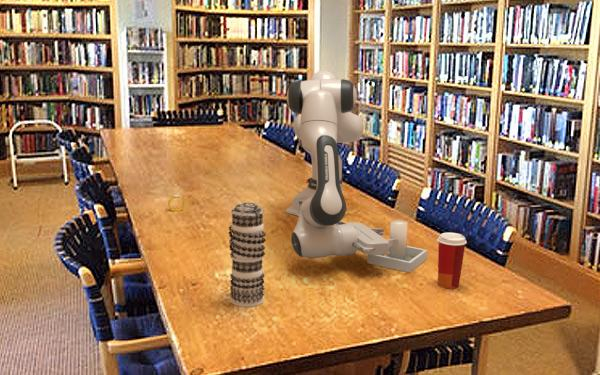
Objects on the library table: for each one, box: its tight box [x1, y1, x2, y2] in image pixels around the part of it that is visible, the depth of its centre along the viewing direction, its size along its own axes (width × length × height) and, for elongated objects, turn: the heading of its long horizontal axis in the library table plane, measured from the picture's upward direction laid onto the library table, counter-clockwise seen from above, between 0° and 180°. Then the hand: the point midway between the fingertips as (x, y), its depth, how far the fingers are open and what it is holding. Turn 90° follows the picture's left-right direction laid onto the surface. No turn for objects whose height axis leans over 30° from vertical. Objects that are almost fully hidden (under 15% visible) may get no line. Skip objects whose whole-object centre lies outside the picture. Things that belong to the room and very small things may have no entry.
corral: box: [366, 245, 429, 274], centre depth 188 cm, size 14×14×3 cm
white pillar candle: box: [388, 219, 408, 261], centre depth 187 cm, size 5×5×12 cm
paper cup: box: [436, 232, 467, 290], centre depth 170 cm, size 8×8×14 cm
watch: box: [167, 194, 185, 212], centre depth 237 cm, size 6×3×6 cm, turn 112°
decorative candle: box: [228, 202, 267, 308], centre depth 155 cm, size 9×9×25 cm
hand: (389, 236), depth 185 cm, fingers open, 8 cm apart
